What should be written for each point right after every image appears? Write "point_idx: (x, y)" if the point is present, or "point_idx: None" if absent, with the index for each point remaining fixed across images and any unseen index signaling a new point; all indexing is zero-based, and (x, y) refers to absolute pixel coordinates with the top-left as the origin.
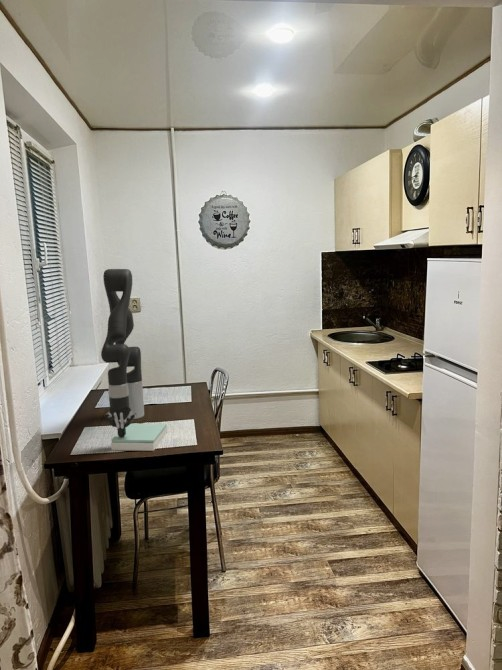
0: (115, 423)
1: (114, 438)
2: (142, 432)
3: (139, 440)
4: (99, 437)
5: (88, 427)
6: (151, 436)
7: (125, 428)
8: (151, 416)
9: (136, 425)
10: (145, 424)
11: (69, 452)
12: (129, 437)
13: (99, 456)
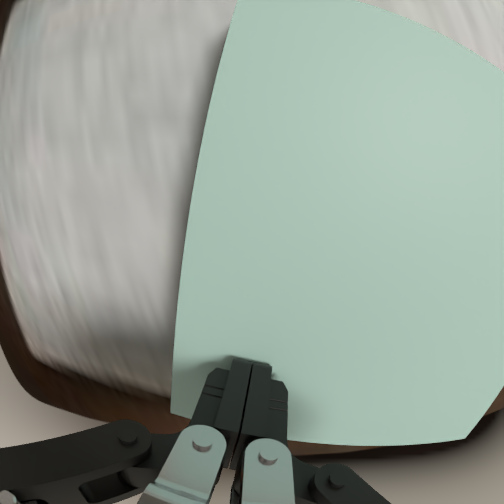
0: (142, 482)
1: (186, 395)
2: (449, 305)
3: (392, 443)
4: (57, 123)
5: (23, 3)
6: (479, 393)
7: (286, 438)
8: None
9: (367, 43)
10: (457, 54)
11: (16, 327)
12: (323, 407)
13: (156, 420)
